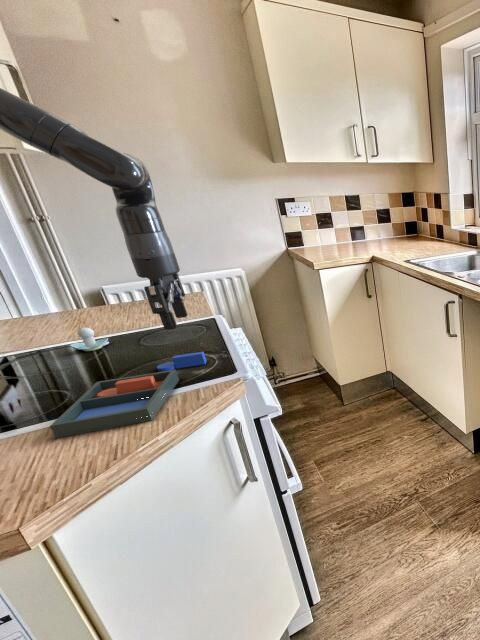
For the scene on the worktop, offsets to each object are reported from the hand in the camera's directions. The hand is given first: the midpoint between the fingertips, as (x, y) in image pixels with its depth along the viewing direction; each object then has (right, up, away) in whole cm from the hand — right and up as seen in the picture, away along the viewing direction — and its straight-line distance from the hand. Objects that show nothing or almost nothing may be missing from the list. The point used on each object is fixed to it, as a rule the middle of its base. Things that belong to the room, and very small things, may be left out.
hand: (177, 322), depth 98 cm
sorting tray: (0, -17, -13) cm, 21 cm away
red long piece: (-2, -15, -10) cm, 18 cm away
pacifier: (-35, -6, +15) cm, 38 cm away
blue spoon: (-1, -10, +4) cm, 11 cm away
